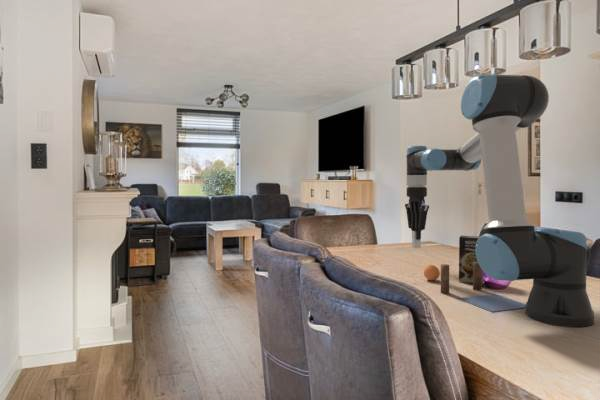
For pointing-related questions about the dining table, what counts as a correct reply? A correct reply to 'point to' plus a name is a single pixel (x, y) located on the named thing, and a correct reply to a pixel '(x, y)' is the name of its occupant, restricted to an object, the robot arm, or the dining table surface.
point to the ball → (431, 272)
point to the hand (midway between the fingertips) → (416, 247)
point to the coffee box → (467, 257)
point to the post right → (477, 276)
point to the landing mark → (493, 302)
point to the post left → (444, 278)
